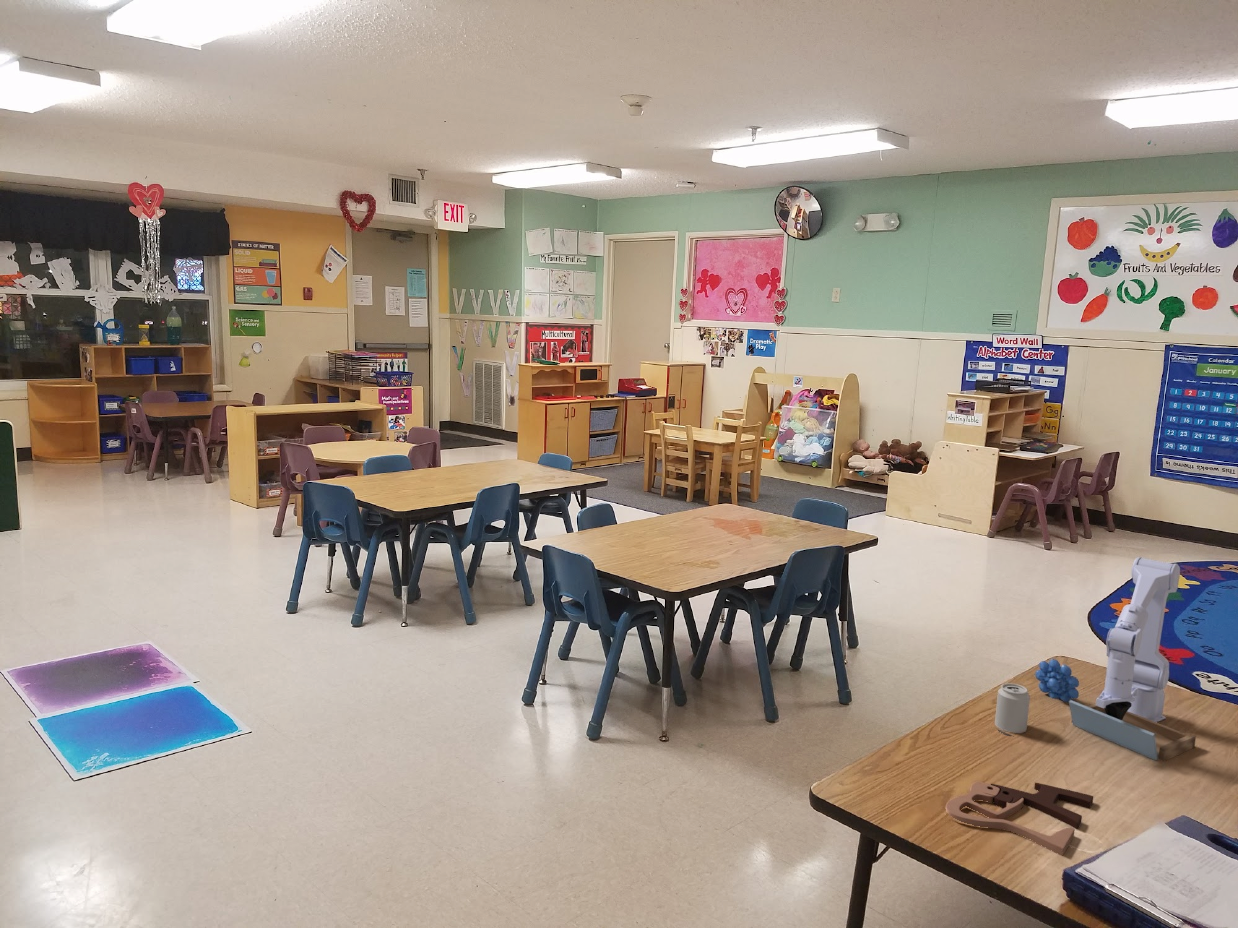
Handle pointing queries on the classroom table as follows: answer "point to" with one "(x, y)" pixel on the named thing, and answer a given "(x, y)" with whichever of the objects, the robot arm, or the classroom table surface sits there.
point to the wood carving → (1014, 802)
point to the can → (1012, 708)
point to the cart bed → (1159, 735)
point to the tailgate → (1114, 730)
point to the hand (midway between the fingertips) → (1113, 728)
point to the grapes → (1057, 680)
